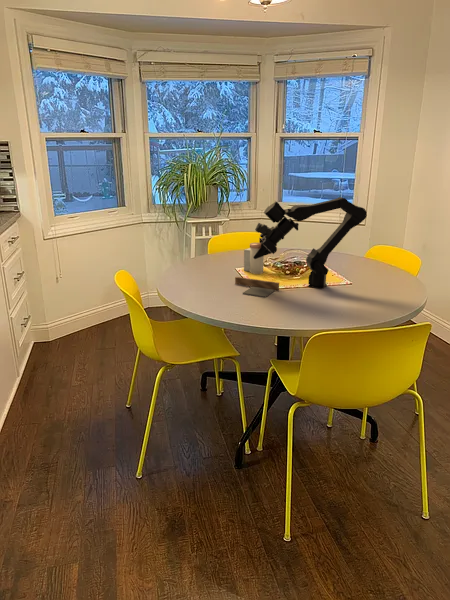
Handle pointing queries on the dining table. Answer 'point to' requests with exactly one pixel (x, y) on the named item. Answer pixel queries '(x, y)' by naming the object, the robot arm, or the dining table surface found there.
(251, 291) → the mat
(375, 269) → the dining table surface
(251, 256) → the canister
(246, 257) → the small box
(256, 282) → the wall
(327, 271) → the robot arm
